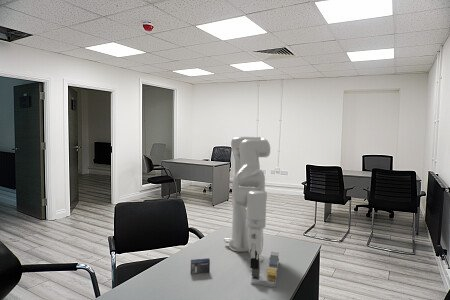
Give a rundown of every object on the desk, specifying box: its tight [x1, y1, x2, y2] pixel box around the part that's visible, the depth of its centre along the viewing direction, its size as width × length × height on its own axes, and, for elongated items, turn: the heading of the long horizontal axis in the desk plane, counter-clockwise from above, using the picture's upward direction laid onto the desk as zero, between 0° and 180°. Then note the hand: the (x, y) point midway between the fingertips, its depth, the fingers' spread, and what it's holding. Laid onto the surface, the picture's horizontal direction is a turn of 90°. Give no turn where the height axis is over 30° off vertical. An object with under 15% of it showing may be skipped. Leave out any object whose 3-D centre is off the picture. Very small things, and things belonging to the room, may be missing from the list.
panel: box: [250, 255, 280, 288], centre depth 133 cm, size 10×24×4 cm, turn 167°
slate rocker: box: [268, 251, 280, 267], centre depth 139 cm, size 4×9×1 cm, turn 167°
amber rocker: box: [267, 267, 278, 276], centre depth 127 cm, size 4×9×1 cm, turn 167°
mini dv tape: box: [190, 257, 211, 275], centre depth 131 cm, size 8×2×6 cm, turn 105°
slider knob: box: [251, 263, 260, 277], centre depth 125 cm, size 3×3×5 cm
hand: (254, 267), depth 119 cm, fingers closed
